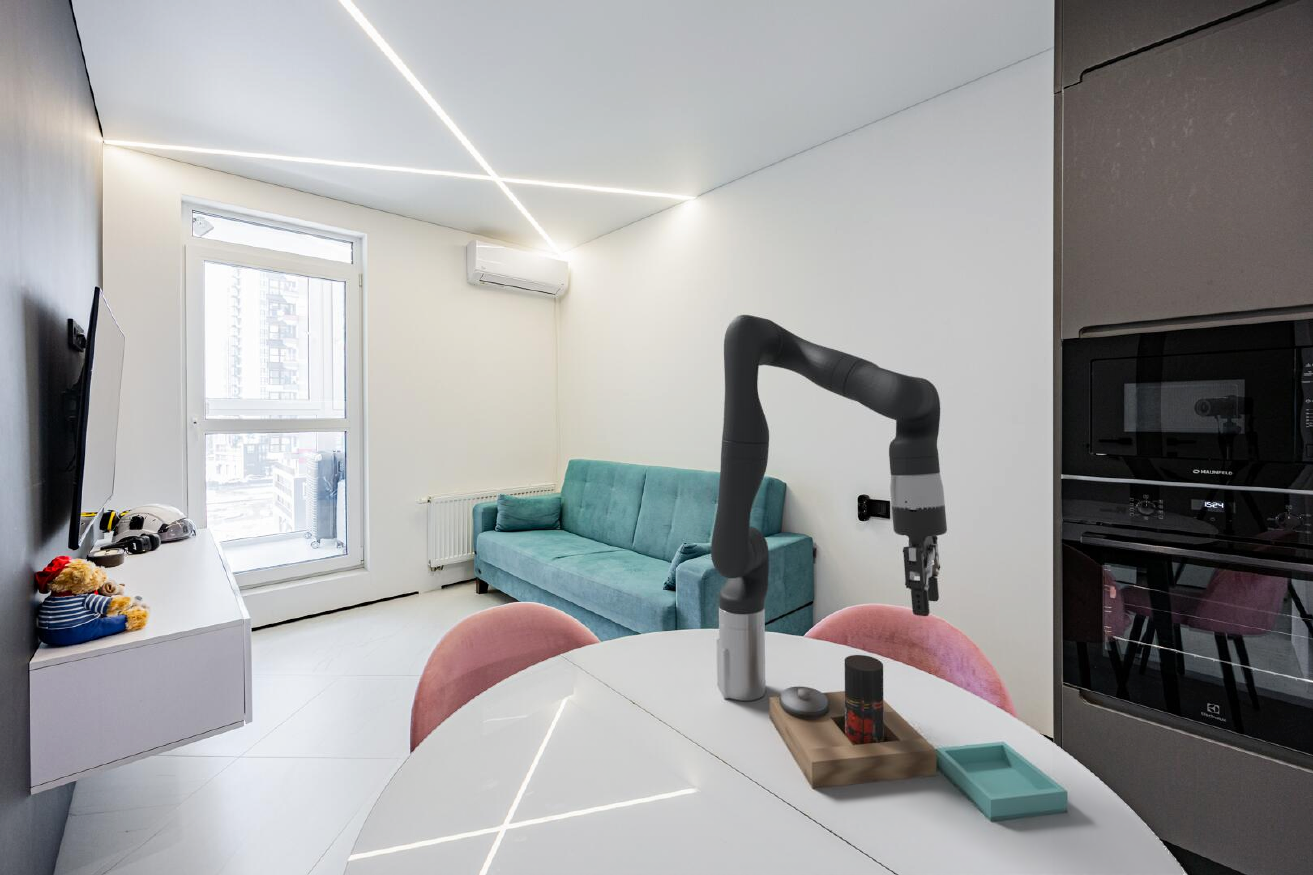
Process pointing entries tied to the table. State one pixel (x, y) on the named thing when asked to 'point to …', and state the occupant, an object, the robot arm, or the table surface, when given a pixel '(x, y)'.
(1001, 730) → the table surface
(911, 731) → the block
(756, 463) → the robot arm
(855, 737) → the deodorant
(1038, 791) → the tray
